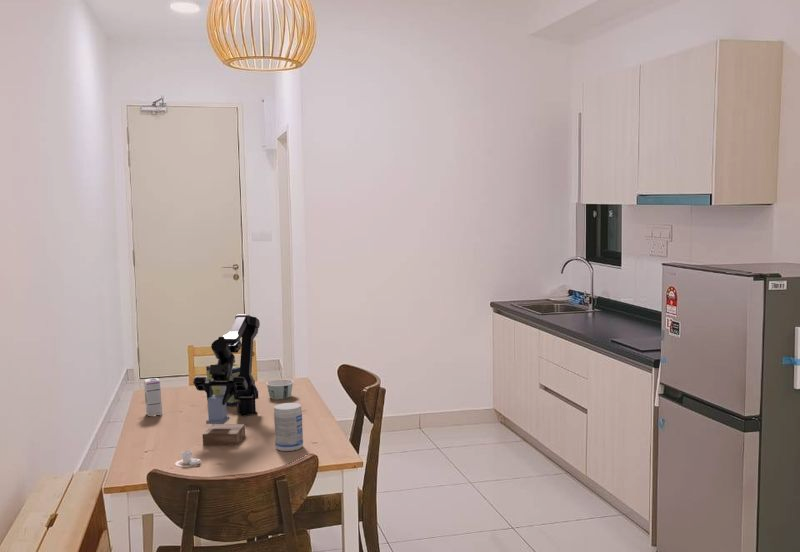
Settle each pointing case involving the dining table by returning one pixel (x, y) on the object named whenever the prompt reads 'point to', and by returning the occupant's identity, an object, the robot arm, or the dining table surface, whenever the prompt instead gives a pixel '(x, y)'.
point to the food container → (280, 388)
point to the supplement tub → (288, 426)
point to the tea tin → (217, 410)
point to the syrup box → (153, 396)
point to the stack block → (224, 434)
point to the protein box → (221, 389)
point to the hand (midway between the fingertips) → (215, 404)
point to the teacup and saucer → (188, 459)
